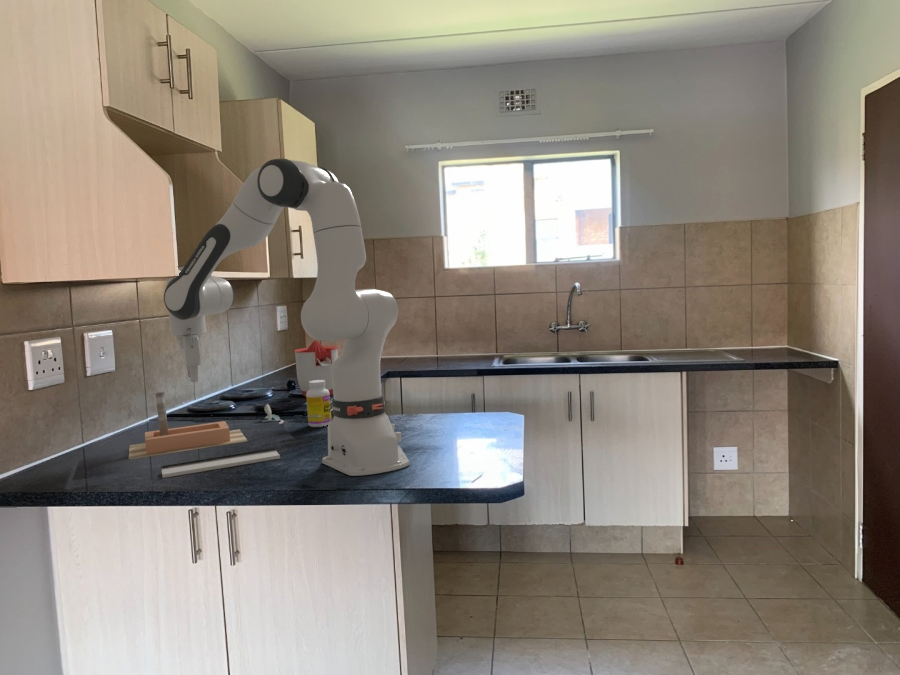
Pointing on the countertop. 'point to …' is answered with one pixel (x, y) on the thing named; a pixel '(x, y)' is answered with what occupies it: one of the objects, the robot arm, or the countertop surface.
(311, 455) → the countertop surface
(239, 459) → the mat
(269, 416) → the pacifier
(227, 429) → the link
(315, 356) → the citrus juicer
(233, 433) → the stand
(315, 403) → the supplement bottle
